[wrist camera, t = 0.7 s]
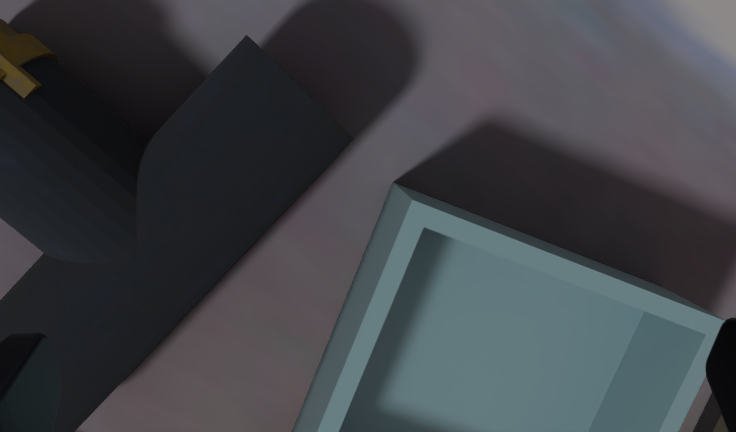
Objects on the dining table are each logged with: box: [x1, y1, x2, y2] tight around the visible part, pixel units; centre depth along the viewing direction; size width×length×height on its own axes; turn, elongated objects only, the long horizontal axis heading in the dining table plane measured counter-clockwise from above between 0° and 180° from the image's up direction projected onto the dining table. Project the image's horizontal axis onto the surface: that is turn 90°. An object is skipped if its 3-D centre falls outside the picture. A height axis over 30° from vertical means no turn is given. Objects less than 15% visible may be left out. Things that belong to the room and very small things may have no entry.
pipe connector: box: [0, 19, 353, 432], centre depth 23 cm, size 12×5×15 cm
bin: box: [292, 182, 726, 432], centre depth 26 cm, size 12×12×4 cm
